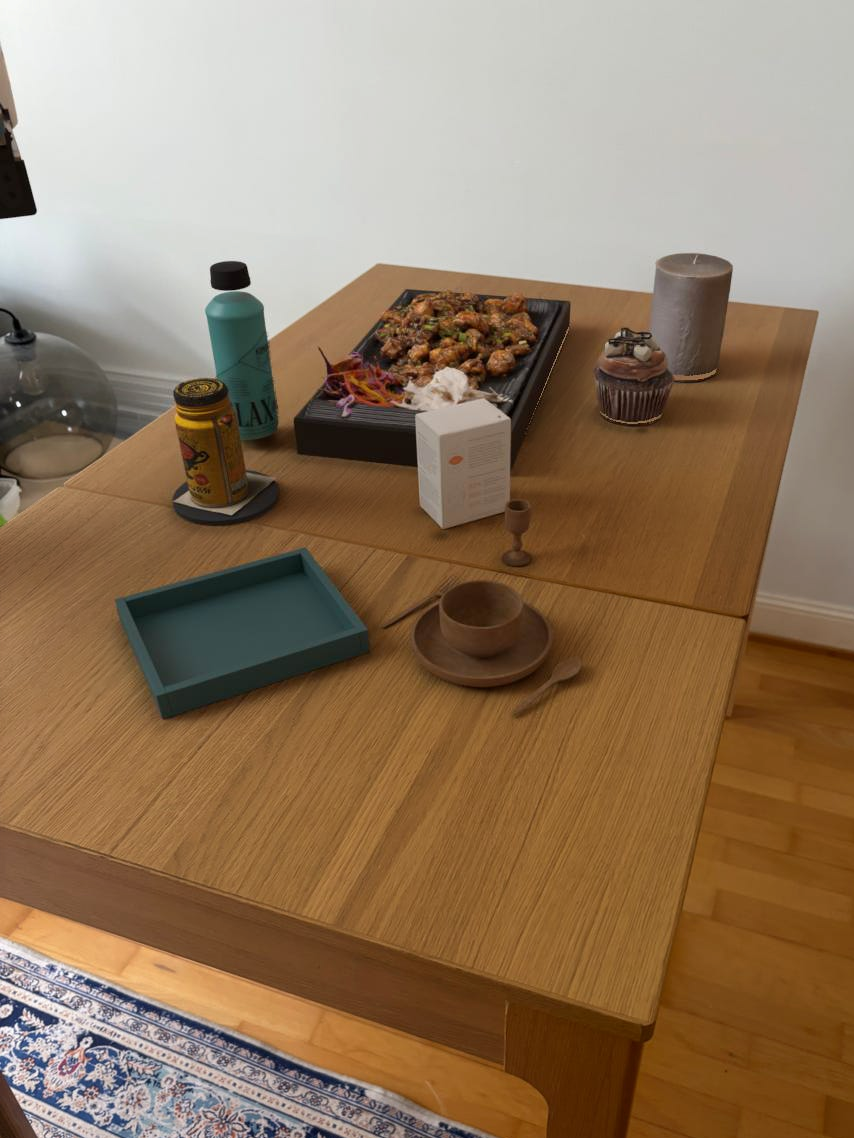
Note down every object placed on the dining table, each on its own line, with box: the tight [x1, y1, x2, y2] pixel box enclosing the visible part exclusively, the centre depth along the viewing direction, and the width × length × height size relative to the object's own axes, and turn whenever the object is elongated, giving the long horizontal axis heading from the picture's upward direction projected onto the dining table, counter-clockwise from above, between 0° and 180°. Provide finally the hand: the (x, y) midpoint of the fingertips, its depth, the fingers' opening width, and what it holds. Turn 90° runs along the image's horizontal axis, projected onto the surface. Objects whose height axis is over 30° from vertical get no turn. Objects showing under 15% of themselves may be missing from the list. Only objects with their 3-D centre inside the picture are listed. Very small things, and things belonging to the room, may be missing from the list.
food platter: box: [292, 288, 572, 473], centre depth 124 cm, size 45×25×10 cm, turn 167°
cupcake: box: [593, 326, 675, 427], centre depth 117 cm, size 10×10×10 cm
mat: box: [171, 469, 280, 526], centre depth 103 cm, size 11×11×1 cm
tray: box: [114, 547, 371, 720], centre depth 84 cm, size 18×15×2 cm
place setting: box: [380, 498, 583, 717], centre depth 84 cm, size 18×20×6 cm
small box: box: [415, 398, 511, 530], centre depth 98 cm, size 8×6×10 cm
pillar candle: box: [648, 252, 734, 383], centre depth 127 cm, size 10×10×15 cm
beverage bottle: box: [204, 260, 281, 441], centre depth 108 cm, size 6×7×20 cm
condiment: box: [172, 377, 277, 515], centre depth 100 cm, size 7×8×12 cm
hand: (7, 202), depth 82 cm, fingers open, 9 cm apart
